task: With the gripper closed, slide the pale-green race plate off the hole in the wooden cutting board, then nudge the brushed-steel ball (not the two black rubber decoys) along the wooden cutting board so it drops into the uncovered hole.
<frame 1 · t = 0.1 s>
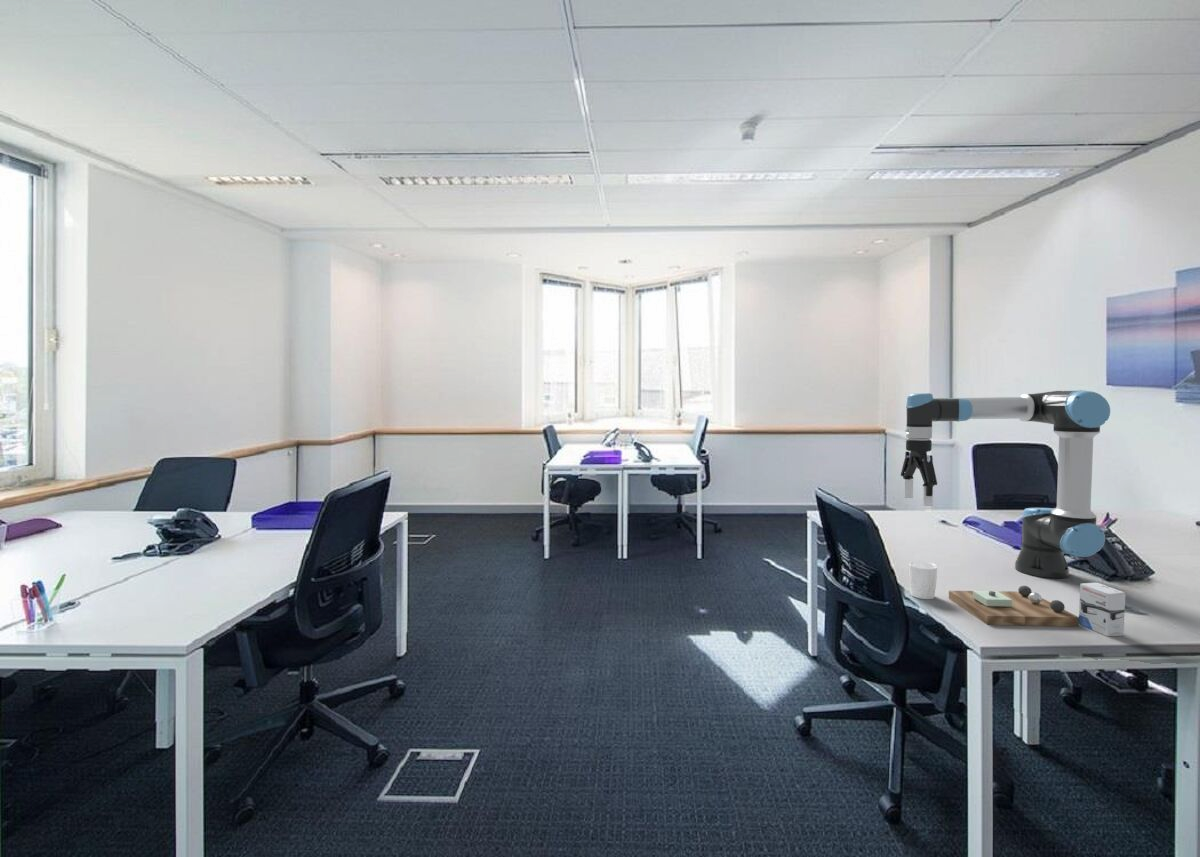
hand: (917, 501, 188), 28 cm above the table, fingers open, 13 cm apart
white cup: (922, 596, 178), on the table
wooden cutting board: (1009, 611, 164), on the table
steel ball: (1035, 598, 163), point 4 cm above the table, touching wooden cutting board
race plate: (992, 596, 164), point 4 cm above the table, slide at 0.0 cm
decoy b: (1057, 606, 157), point 4 cm above the table, touching wooden cutting board
ink box: (1100, 630, 151), on the table
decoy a: (1024, 591, 169), point 4 cm above the table, touching wooden cutting board
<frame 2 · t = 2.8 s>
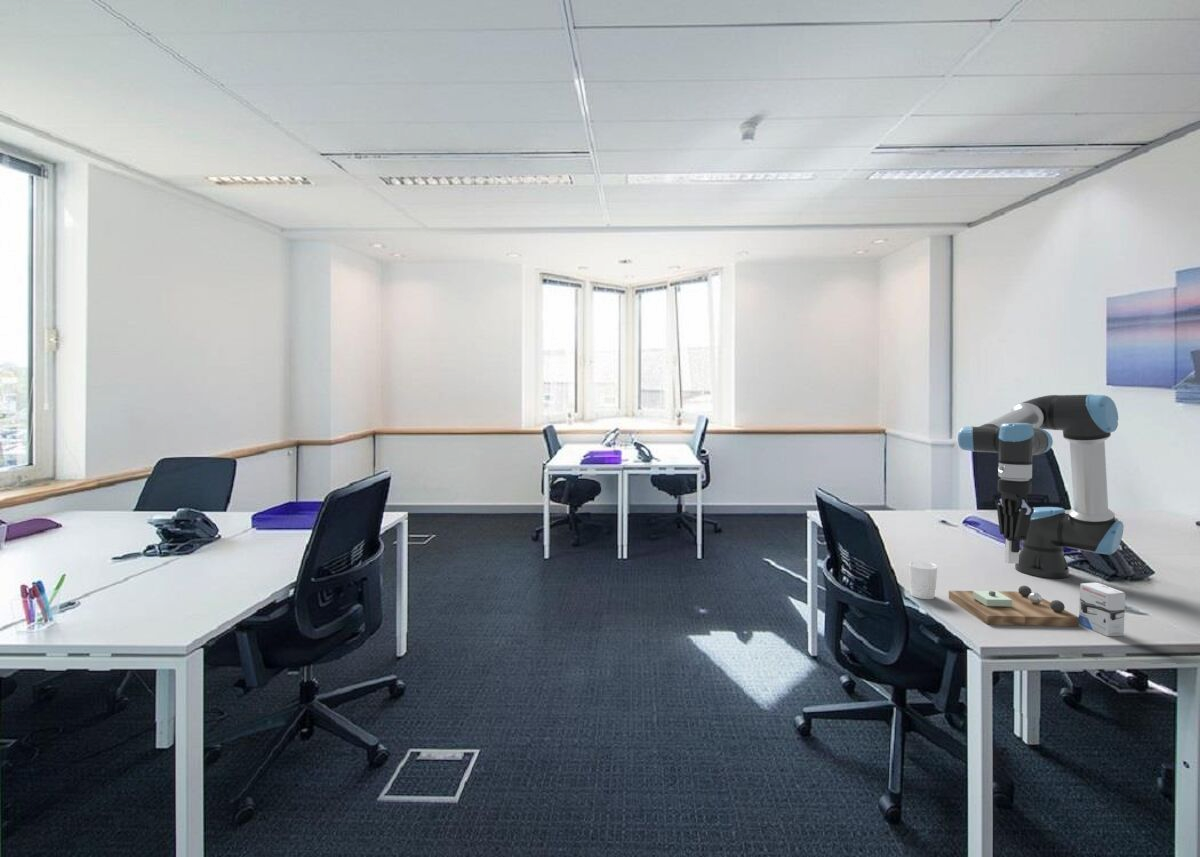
hand: (1011, 562, 155), 17 cm above the table, fingers closed
nothing on the table moved.
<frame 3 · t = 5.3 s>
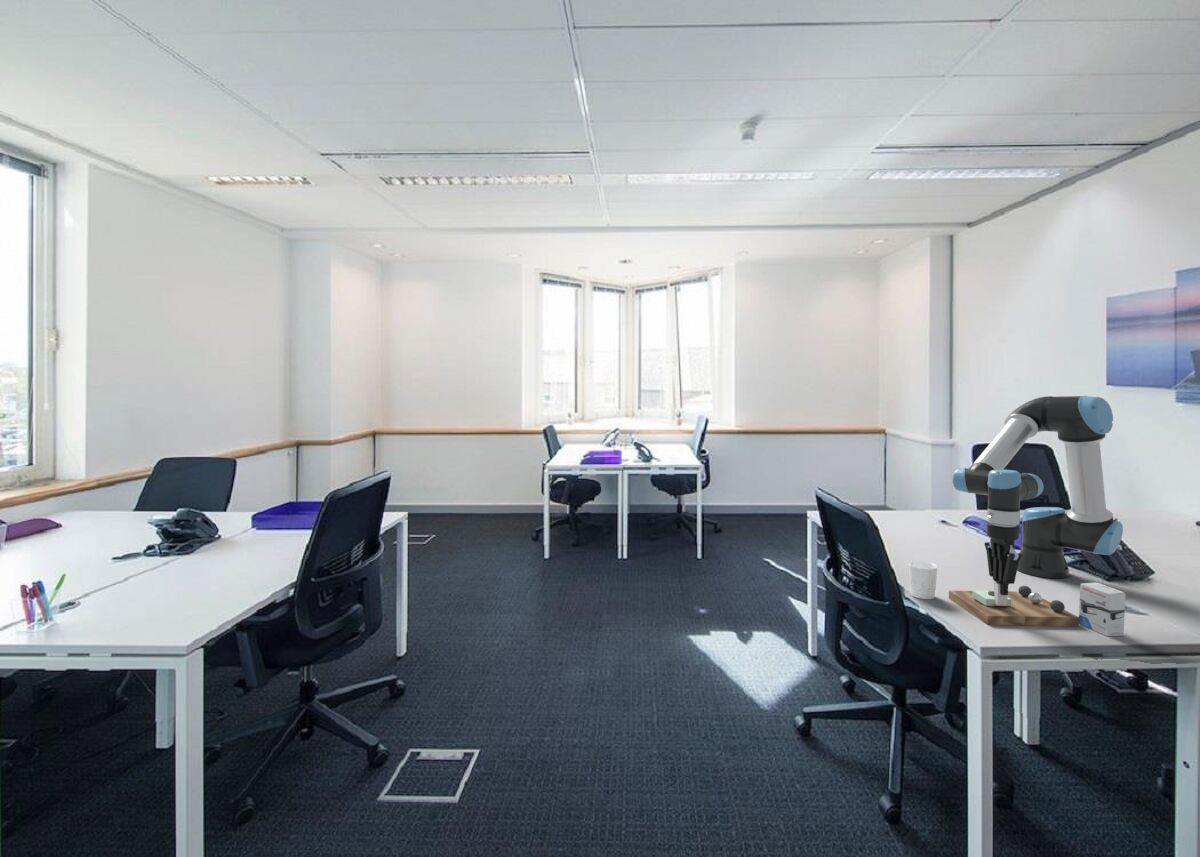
hand: (1000, 604, 161), 4 cm above the table, fingers closed
race plate: (991, 596, 165), point 4 cm above the table, slide at 0.4 cm, touching gripper
everything else where it was.
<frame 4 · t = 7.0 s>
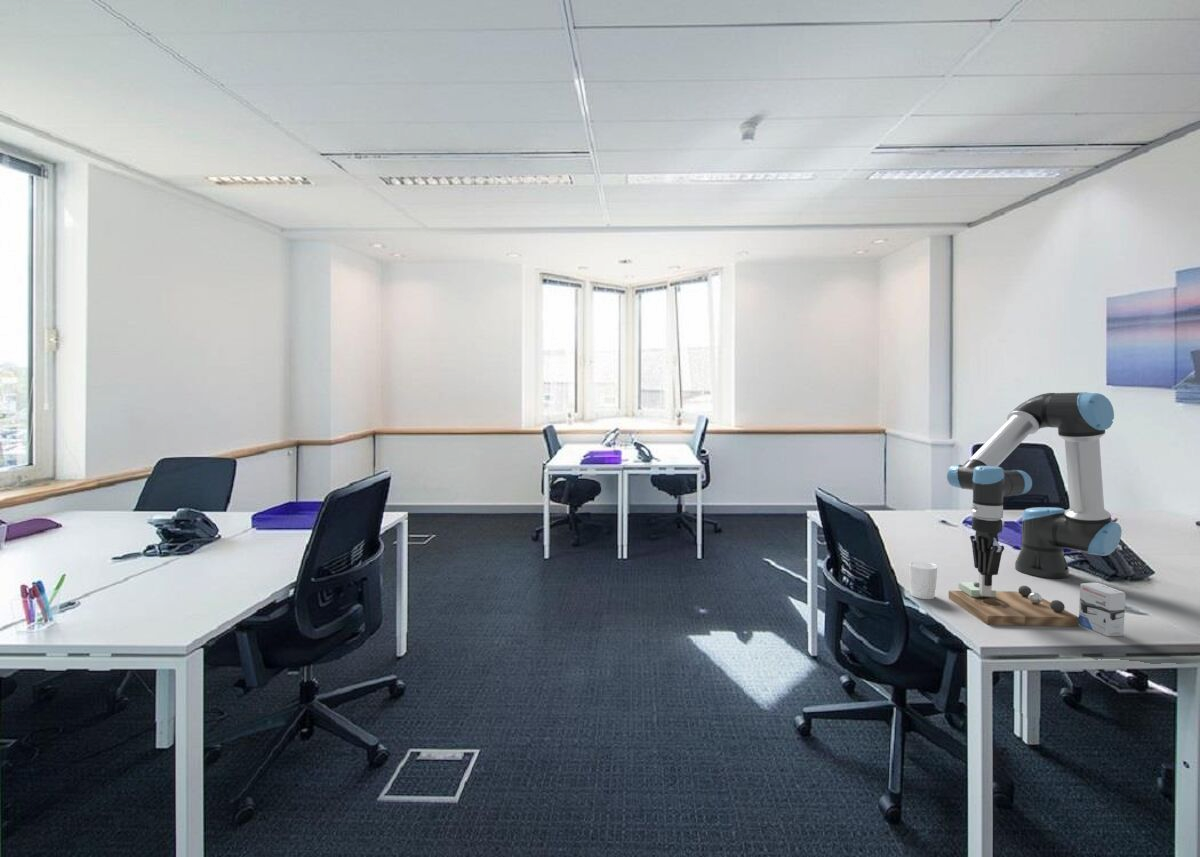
hand: (985, 594, 168), 4 cm above the table, fingers closed
race plate: (976, 587, 172), point 4 cm above the table, slide at 7.7 cm, touching gripper
everything else where it was.
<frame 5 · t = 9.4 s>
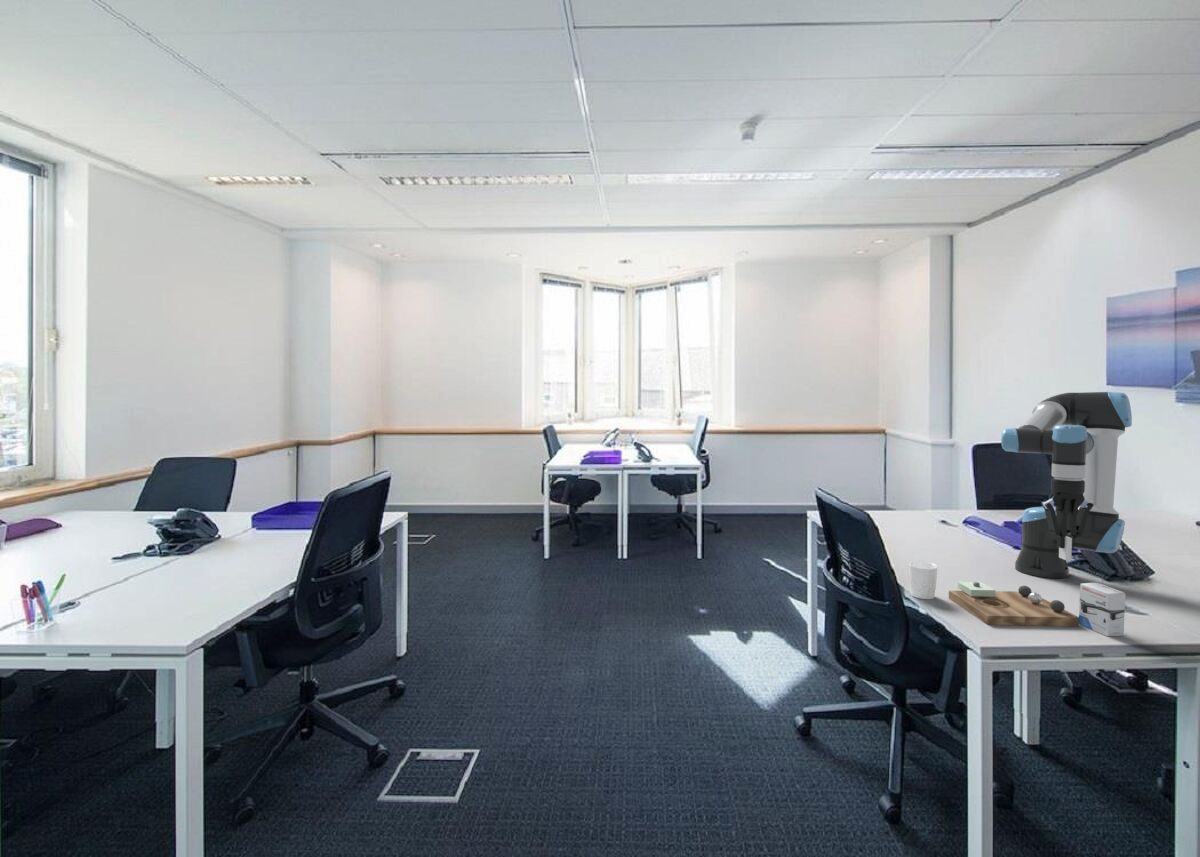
hand: (1064, 558, 162), 16 cm above the table, fingers closed
race plate: (976, 587, 172), point 4 cm above the table, slide at 7.9 cm
everything else where it was.
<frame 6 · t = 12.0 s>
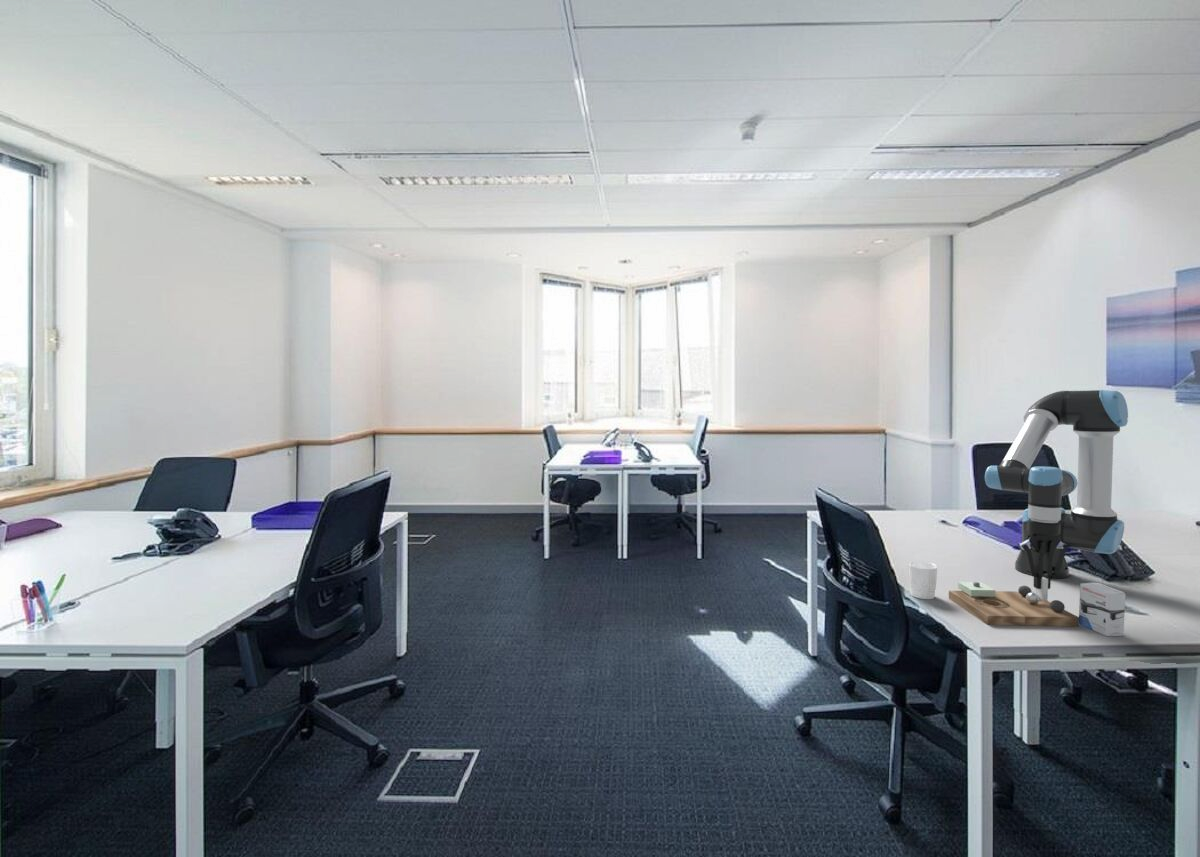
hand: (1041, 599, 163), 4 cm above the table, fingers closed
steel ball: (1032, 598, 163), point 4 cm above the table, tilted 22°, touching wooden cutting board, gripper
everything else where it was.
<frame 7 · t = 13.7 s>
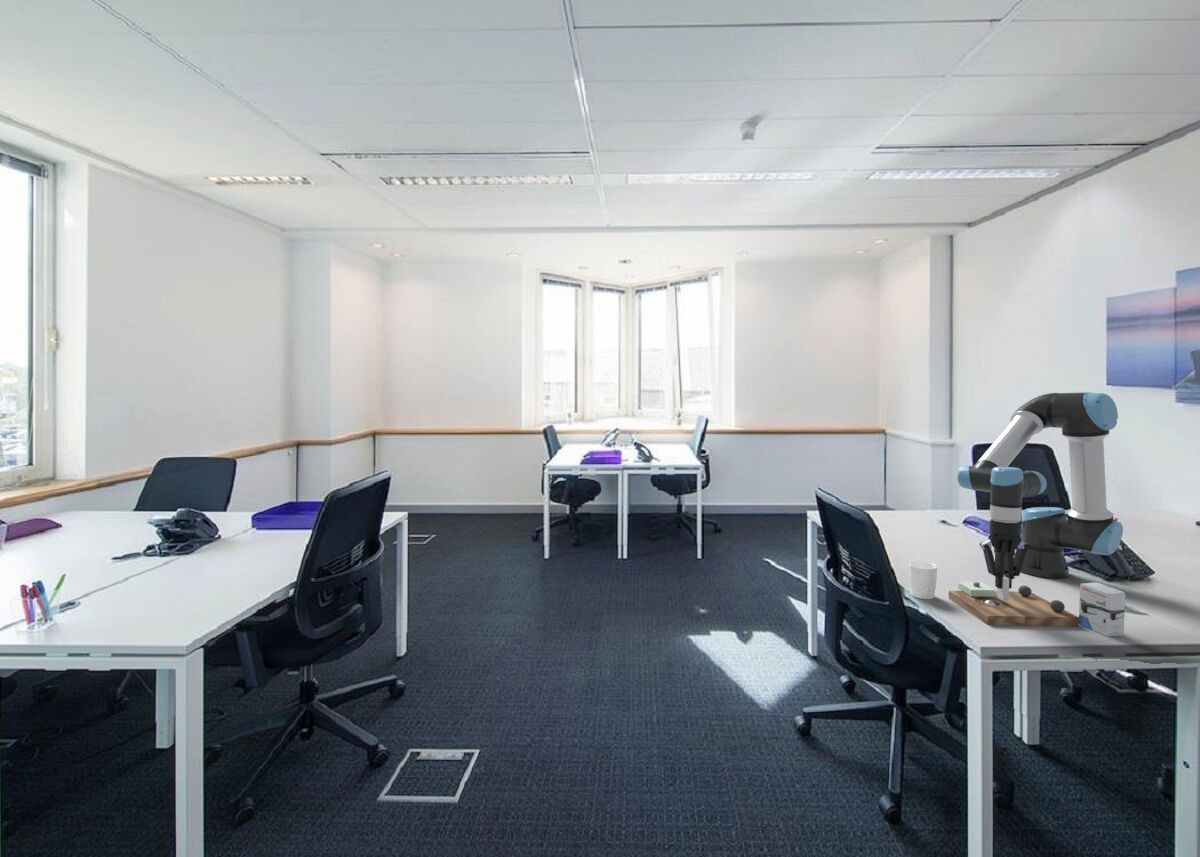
hand: (1002, 598, 164), 4 cm above the table, fingers closed
steel ball: (989, 605, 165), point 2 cm above the table, tilted 110°
everything else where it was.
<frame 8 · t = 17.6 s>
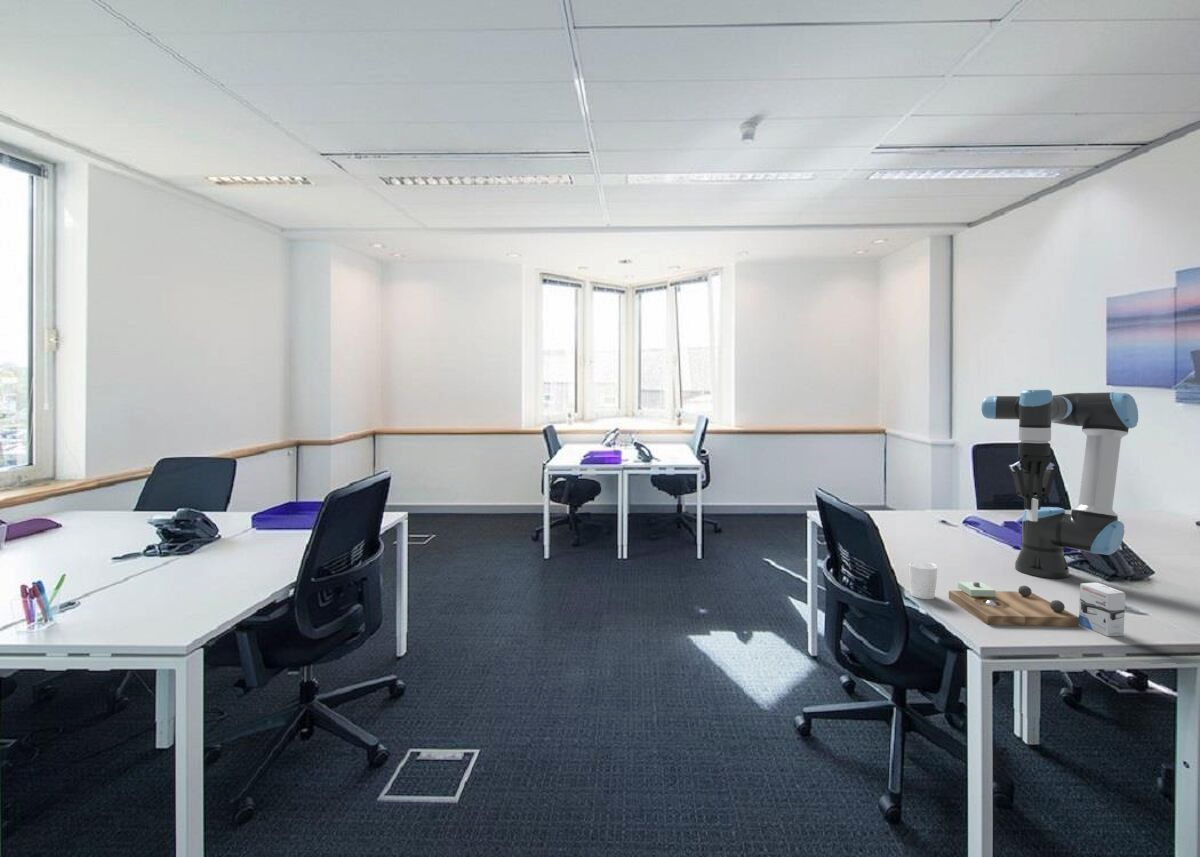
hand: (1031, 520, 166), 26 cm above the table, fingers closed
steel ball: (990, 605, 165), point 2 cm above the table, tilted 100°
everything else where it was.
at the end: steel ball 0.3 cm from the target spot in the wooden cutting board, point 1.6 cm above the wooden cutting board's base; race plate slide at 7.9 cm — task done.
